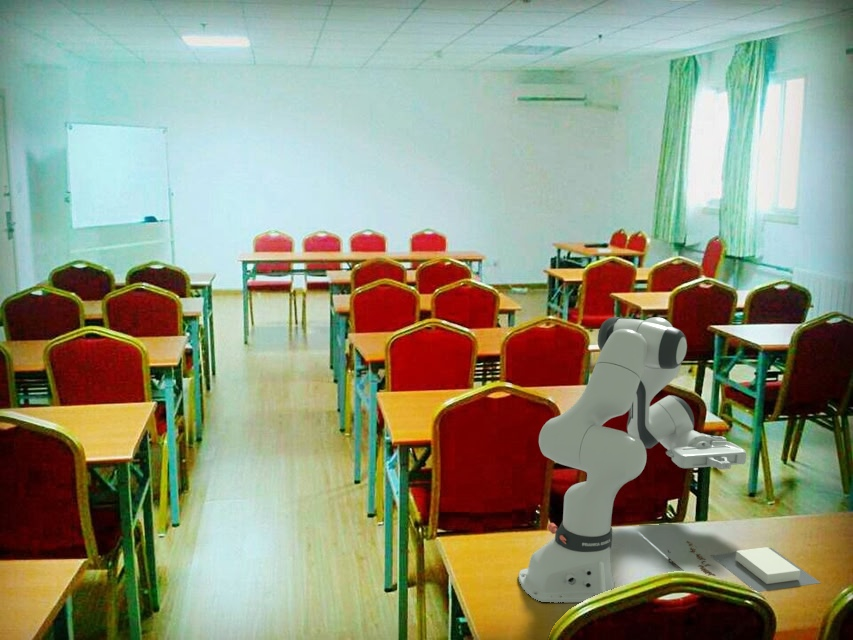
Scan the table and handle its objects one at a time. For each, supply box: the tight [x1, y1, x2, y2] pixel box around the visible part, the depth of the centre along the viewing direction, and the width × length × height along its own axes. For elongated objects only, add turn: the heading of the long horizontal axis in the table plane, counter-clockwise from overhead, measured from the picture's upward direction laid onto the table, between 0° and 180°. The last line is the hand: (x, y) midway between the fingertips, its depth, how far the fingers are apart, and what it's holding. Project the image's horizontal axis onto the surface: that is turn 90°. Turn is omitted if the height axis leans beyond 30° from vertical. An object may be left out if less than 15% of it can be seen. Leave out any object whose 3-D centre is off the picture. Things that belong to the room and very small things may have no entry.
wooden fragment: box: [667, 541, 716, 577], centre depth 199 cm, size 26×11×1 cm, turn 179°
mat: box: [710, 547, 822, 593], centre depth 193 cm, size 18×18×1 cm
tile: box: [735, 546, 800, 584], centre depth 192 cm, size 9×3×12 cm
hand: (726, 466), depth 207 cm, fingers closed
